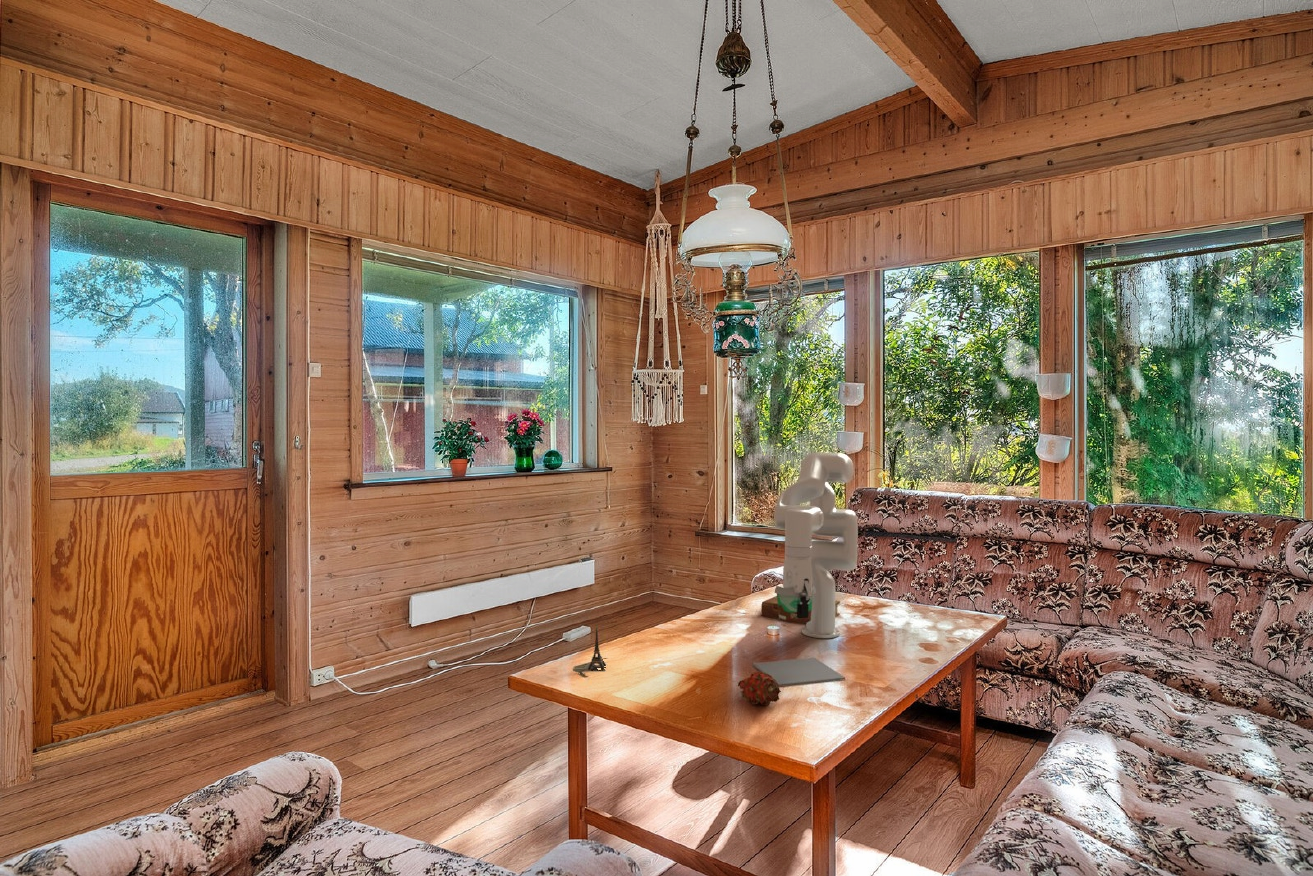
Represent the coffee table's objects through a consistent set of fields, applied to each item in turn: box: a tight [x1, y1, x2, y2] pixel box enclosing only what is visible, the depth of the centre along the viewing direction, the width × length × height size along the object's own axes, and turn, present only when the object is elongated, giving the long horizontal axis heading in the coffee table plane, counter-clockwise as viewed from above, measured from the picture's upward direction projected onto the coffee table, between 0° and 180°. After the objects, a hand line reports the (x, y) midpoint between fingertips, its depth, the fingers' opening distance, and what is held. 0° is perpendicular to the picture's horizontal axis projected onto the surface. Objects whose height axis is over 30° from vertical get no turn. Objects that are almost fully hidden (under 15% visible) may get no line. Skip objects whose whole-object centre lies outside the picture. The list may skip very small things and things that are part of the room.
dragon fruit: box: [737, 671, 782, 706], centre depth 188 cm, size 8×8×12 cm
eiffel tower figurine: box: [572, 627, 608, 678], centre depth 215 cm, size 15×10×13 cm
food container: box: [774, 584, 816, 624], centre depth 210 cm, size 12×6×10 cm, turn 106°
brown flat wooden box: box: [760, 595, 841, 619], centre depth 273 cm, size 23×19×6 cm
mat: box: [752, 657, 846, 688], centre depth 211 cm, size 18×20×1 cm
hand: (798, 614), depth 210 cm, fingers closed on food container, 5 cm apart
